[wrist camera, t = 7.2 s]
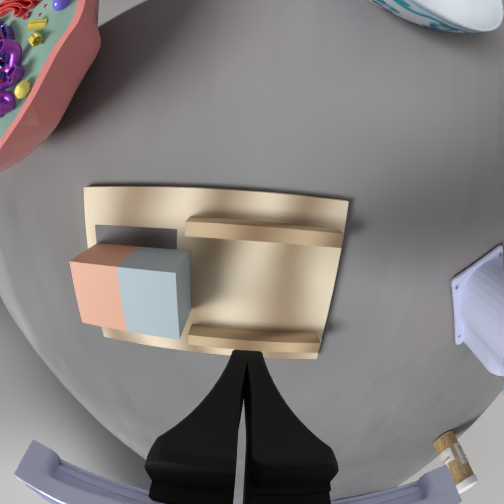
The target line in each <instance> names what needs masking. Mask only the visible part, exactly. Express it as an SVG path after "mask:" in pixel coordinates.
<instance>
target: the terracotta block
mask: <svg viewBox="0 0 504 504" xmlns="http://www.w3.org/2000/svg"><path fill="white" fill-rule="evenodd" d="M138 248H139V247H138V246H125V245H113V244H100V243H96V244H95V245H93V246H92V247H90V248H89V249H87V250H86V251H84V252H83V253H81V254H80V255H78V256H77V257H75V258H74V259H72V260H71V261H70V266H71V272H72V278H73V283H74V288H75V293H76V297H77V302H78V306H79V310H80V315H81V319H82V322H83V323H88V324H92V325H97V326H102V327H107V328H112V329H117V330H122V331H127V330H126V324H125V319H124V313H123V307H122V301H121V294H120V287H119V280H118V271H117V266H119V265H120V264H121V263H122V262H123V261H124V260H125V259H126V258H128V257H129V256H130V255H131V254H132V253H133V252H134V251H135V250H137V249H138Z"/></svg>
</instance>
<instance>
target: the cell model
mask: <svg viewBox="0 0 504 504" xmlns="http://www.w3.org/2000/svg"><path fill="white" fill-rule="evenodd" d="M98 6H99V0H0V173H1V172H3V171H4V170H6V169H8V168H10V167H12V166H13V165H15V164H16V163H18V162H19V161H21V160H22V159H24V158H25V157H26V156H28V155H29V154H30V153H31V152H32V151H33V150H35V149H36V148H37V147H38V146H39V145H40V144H41V143H42V142H43V141H44V140H46V139H47V138H48V137H49V135H50V134H51V133H52V132H53V131H54V130H55V128H56V127H57V125H58V124H59V122H60V120H61V119H62V117H63V115H64V113H65V111H66V109H67V107H68V105H69V103H70V101H71V99H72V98H73V96H74V94H75V92H76V90H77V88H78V87H79V85H80V83H81V81H82V79H83V78H84V76H85V74H86V73H87V71H88V69H89V68H90V66H91V64H92V63H93V61H94V59H95V57H96V56H97V54H98V52H99V49H100V46H101V36H100V33H99V30H98V27H97V24H98Z"/></svg>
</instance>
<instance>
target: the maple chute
mask: <svg viewBox="0 0 504 504" xmlns="http://www.w3.org/2000/svg"><path fill="white" fill-rule="evenodd" d="M348 203H349V202H348V201H347V200H340V199H333V198H324V197H315V196H306V195H297V194H286V193H276V192H264V191H251V190H237V189H220V188H200V187H173V186H87V187H84V206H85V221H86V233H87V243H88V249H89V248H90V247H92V246H93V245H95V244H96V243H100V244H113V245H125V246H138V247H151V248H163V249H176V250H189V251H190V278H191V312H190V314H189V317H188V320H187V322H186V325H185V327H184V330H183V333H182V335H181V338H180V340H178V339H171V338H164V337H157V336H151V335H145V334H139V333H133V332H127V331H122V330H117V329H112V328H107V327H102V329H103V333H104V337H109V338H114V339H119V340H124V341H129V342H134V343H140V344H146V345H152V346H158V347H164V348H171V349H178V350H185V351H193V352H202V353H211V354H221V355H231V354H232V351H233V350H235V349H237V350H251V351H261V352H262V353H263V357H264V358H286V359H316V358H317V354H318V352H319V348H320V345H321V339H322V335H323V331H324V327H325V323H326V319H327V315H328V311H329V306H330V302H331V297H332V293H333V288H334V283H335V279H336V274H337V269H338V263H339V258H340V253H341V248H342V244H343V239H344V230H345V223H346V217H347V210H348Z"/></svg>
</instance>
